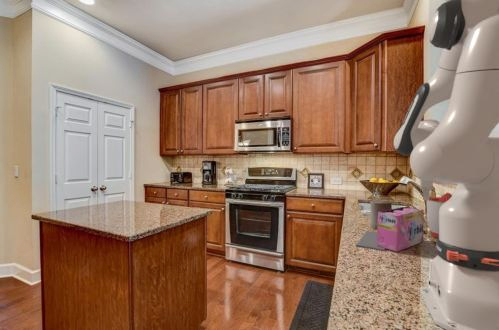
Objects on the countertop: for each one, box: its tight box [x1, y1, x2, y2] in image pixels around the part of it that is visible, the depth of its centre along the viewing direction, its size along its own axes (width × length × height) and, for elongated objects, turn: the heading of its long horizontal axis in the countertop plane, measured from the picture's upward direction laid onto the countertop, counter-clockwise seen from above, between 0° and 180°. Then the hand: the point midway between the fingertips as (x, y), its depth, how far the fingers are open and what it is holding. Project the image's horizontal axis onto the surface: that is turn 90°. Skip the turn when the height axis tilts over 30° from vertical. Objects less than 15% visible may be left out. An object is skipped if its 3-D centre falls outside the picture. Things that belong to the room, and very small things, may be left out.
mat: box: [355, 230, 386, 252], centre depth 104 cm, size 24×10×1 cm, turn 144°
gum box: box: [376, 206, 425, 252], centre depth 98 cm, size 24×8×14 cm, turn 123°
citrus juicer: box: [426, 192, 453, 239], centre depth 107 cm, size 16×17×20 cm
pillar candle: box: [369, 199, 393, 230], centre depth 123 cm, size 10×10×15 cm
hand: (425, 198), depth 93 cm, fingers open, 8 cm apart
